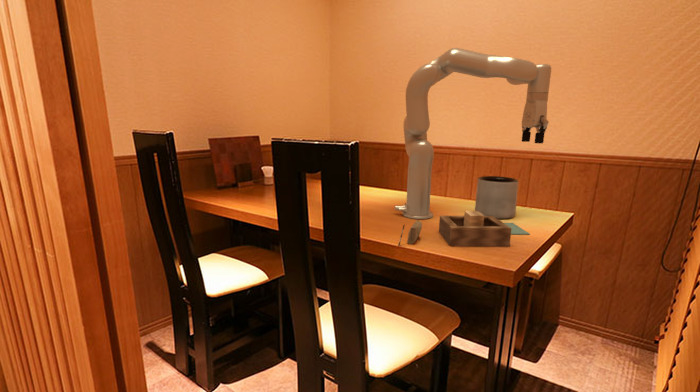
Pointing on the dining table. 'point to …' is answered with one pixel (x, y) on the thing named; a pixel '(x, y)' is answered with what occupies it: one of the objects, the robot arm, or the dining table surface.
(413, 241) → the cuneiform tablet
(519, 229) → the mat
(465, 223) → the beech block
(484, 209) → the planter
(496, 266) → the dining table surface
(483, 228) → the box
